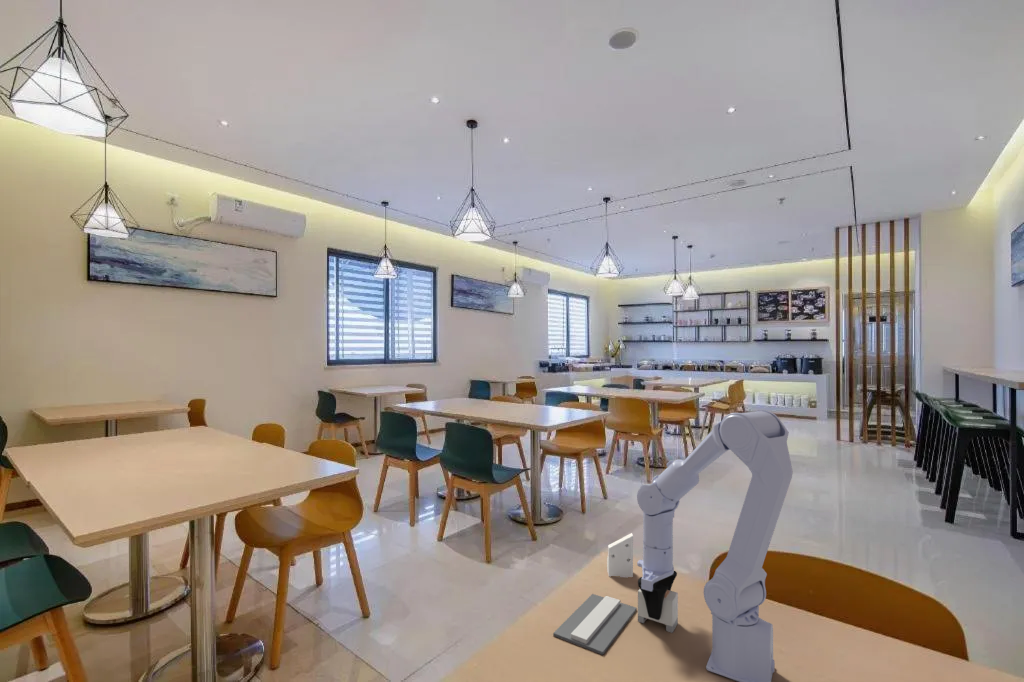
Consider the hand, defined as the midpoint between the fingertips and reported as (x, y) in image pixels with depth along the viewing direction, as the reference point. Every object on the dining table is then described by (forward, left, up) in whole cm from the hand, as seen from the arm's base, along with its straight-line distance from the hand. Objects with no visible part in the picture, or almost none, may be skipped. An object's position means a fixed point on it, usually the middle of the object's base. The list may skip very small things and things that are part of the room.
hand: (657, 612), depth 93 cm
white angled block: (+14, -16, -2) cm, 21 cm away
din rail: (+10, +7, -2) cm, 12 cm away
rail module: (0, 0, -2) cm, 2 cm away
